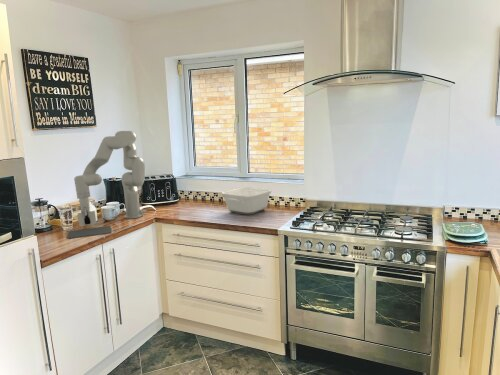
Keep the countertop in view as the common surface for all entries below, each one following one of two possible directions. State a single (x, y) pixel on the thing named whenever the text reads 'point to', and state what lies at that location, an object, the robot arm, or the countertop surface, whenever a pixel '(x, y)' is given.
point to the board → (91, 215)
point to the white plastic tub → (246, 200)
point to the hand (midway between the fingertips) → (87, 223)
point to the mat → (89, 232)
